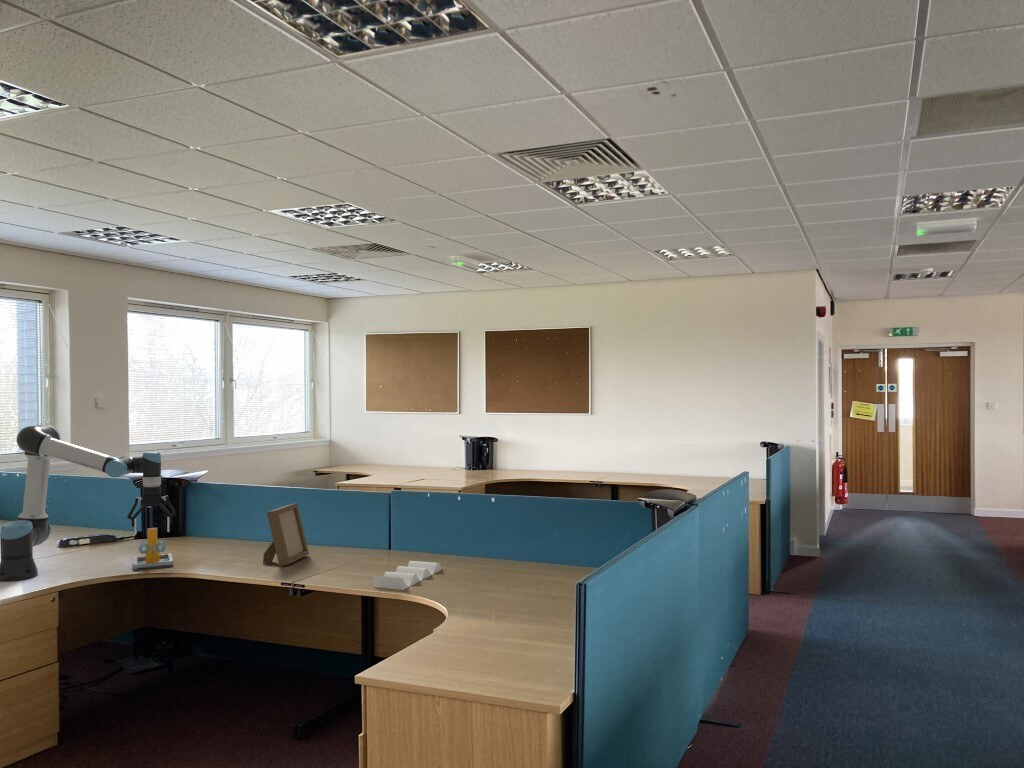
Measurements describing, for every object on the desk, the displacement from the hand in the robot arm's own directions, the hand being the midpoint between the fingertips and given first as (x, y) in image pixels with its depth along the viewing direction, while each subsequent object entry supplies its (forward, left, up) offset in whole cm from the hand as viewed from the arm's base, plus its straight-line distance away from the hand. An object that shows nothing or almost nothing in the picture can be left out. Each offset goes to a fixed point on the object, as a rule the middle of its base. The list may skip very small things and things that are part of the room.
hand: (152, 532), depth 357 cm
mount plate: (0, 0, -14) cm, 14 cm away
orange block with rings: (0, 0, -13) cm, 13 cm away
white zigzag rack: (+95, -82, -15) cm, 127 cm away
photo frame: (+54, -23, -15) cm, 61 cm away
